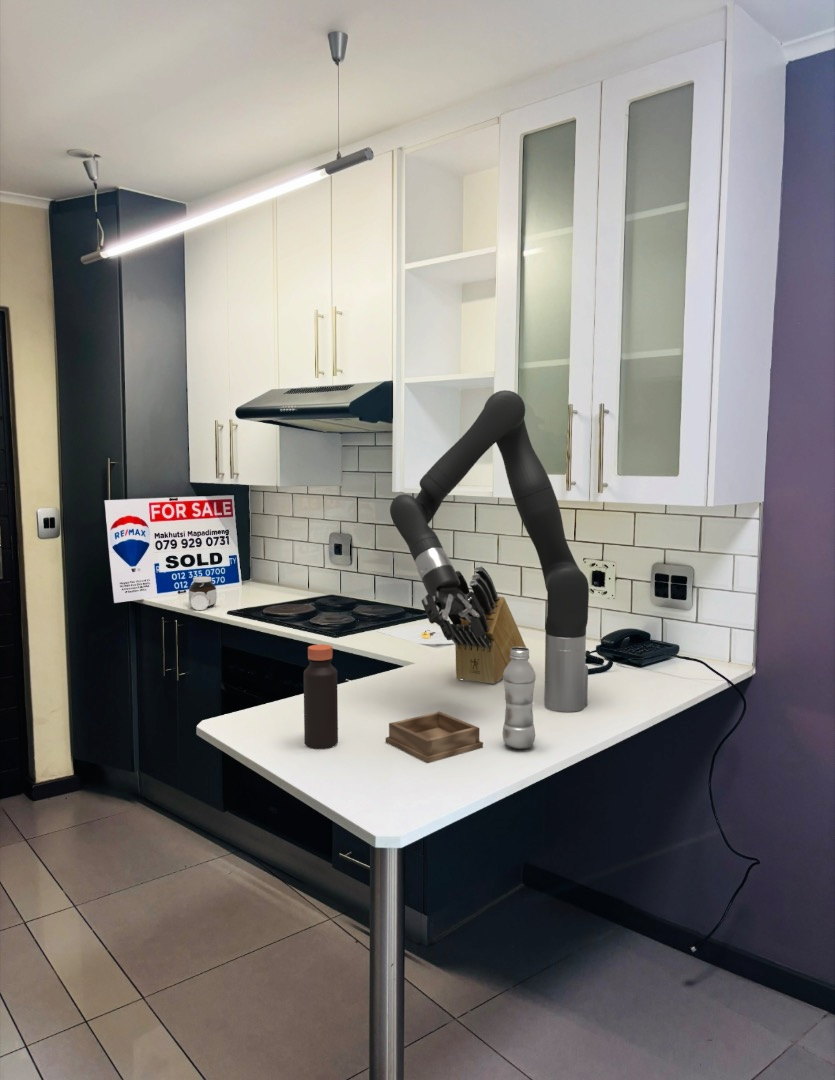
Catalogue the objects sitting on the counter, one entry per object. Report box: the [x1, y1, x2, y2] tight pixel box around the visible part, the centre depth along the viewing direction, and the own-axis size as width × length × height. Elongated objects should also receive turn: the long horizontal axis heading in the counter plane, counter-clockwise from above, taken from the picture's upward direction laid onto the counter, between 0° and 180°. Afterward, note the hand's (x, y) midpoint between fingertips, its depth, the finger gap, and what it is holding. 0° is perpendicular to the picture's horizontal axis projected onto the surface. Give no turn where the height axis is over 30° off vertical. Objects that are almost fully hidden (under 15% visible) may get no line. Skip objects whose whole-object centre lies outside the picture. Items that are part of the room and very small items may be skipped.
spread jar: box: [188, 576, 218, 611], centre depth 311 cm, size 12×11×12 cm
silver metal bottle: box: [501, 647, 537, 750], centre depth 161 cm, size 6×7×20 cm
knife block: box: [448, 565, 527, 685], centre depth 213 cm, size 11×35×31 cm, turn 152°
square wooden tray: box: [385, 711, 484, 764], centre depth 162 cm, size 14×14×4 cm
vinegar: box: [303, 644, 339, 750], centre depth 162 cm, size 7×7×20 cm
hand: (466, 636), depth 171 cm, fingers open, 8 cm apart
